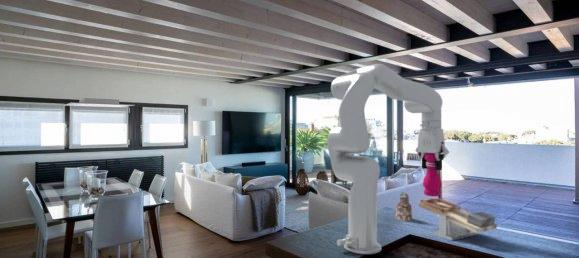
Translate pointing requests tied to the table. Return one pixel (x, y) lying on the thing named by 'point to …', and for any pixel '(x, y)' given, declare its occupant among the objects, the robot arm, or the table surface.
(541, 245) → the table surface
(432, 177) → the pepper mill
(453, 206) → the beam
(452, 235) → the fulcrum
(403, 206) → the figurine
